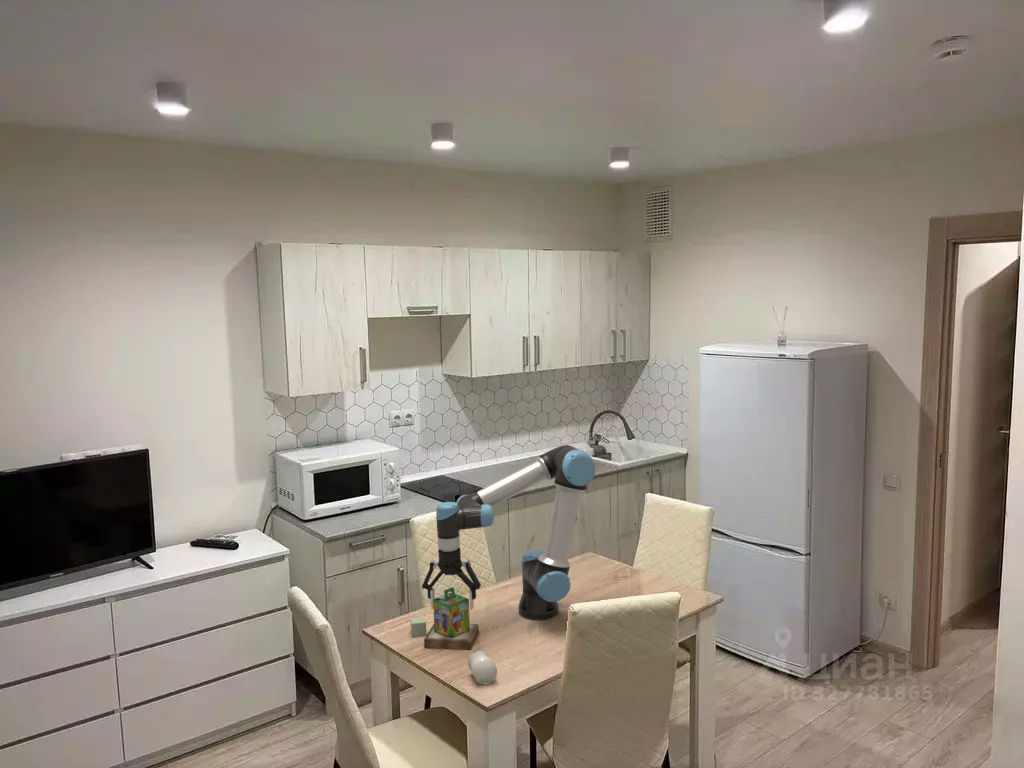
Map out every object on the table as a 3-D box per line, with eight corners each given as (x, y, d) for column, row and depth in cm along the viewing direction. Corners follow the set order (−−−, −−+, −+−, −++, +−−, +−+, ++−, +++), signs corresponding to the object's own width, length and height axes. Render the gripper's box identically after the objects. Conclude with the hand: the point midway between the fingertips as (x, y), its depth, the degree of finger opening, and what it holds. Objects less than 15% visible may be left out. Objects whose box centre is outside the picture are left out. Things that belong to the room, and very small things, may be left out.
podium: (478, 632, 266) (478, 623, 265) (470, 650, 252) (470, 640, 252) (434, 630, 268) (434, 621, 268) (424, 647, 254) (424, 638, 254)
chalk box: (451, 639, 253) (450, 596, 252) (433, 631, 259) (431, 590, 258) (470, 630, 260) (469, 588, 259) (452, 623, 266) (451, 582, 265)
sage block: (425, 630, 269) (424, 616, 268) (426, 636, 264) (426, 622, 264) (411, 631, 268) (410, 618, 267) (412, 637, 263) (411, 623, 263)
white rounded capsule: (490, 649, 237) (497, 660, 229) (489, 671, 237) (496, 682, 230) (468, 652, 235) (475, 663, 227) (468, 673, 235) (474, 685, 228)
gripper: (487, 544, 259) (490, 604, 261) (416, 544, 263) (420, 603, 265) (483, 551, 251) (486, 612, 253) (410, 551, 255) (414, 611, 257)
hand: (452, 607), depth 259 cm, fingers open, 13 cm apart
